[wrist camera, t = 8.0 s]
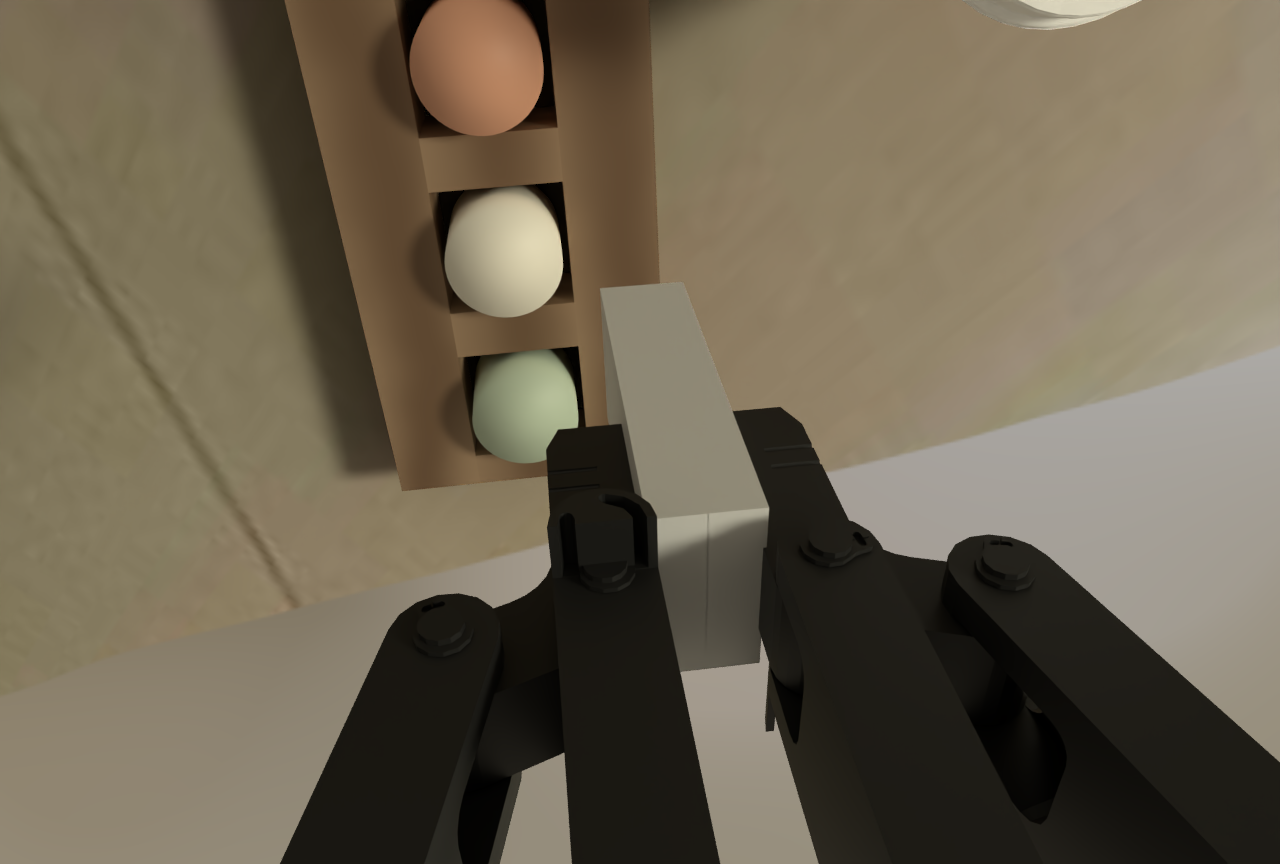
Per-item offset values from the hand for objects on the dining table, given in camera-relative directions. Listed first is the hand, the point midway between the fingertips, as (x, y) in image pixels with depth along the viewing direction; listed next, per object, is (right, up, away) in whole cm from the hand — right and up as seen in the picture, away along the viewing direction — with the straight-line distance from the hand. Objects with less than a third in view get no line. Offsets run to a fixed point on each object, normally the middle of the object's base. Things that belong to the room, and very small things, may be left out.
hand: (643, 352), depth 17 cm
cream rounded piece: (-6, +7, +21) cm, 22 cm away
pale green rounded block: (-5, +1, +24) cm, 25 cm away
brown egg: (-6, +13, +17) cm, 22 cm away
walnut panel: (-6, +7, +21) cm, 23 cm away
